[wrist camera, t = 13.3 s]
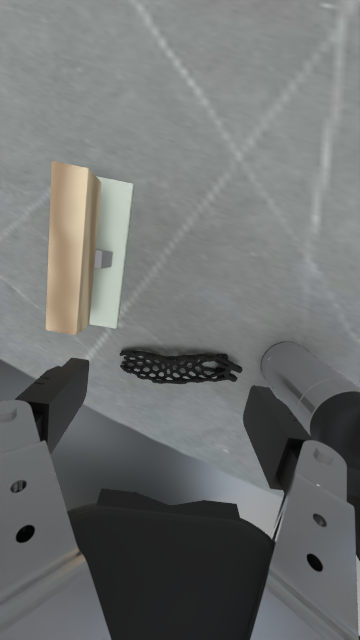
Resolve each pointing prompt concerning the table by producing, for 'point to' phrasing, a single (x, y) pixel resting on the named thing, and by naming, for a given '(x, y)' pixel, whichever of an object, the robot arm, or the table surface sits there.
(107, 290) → the fulcrum
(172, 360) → the decorative element
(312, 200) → the table surface
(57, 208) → the plank
